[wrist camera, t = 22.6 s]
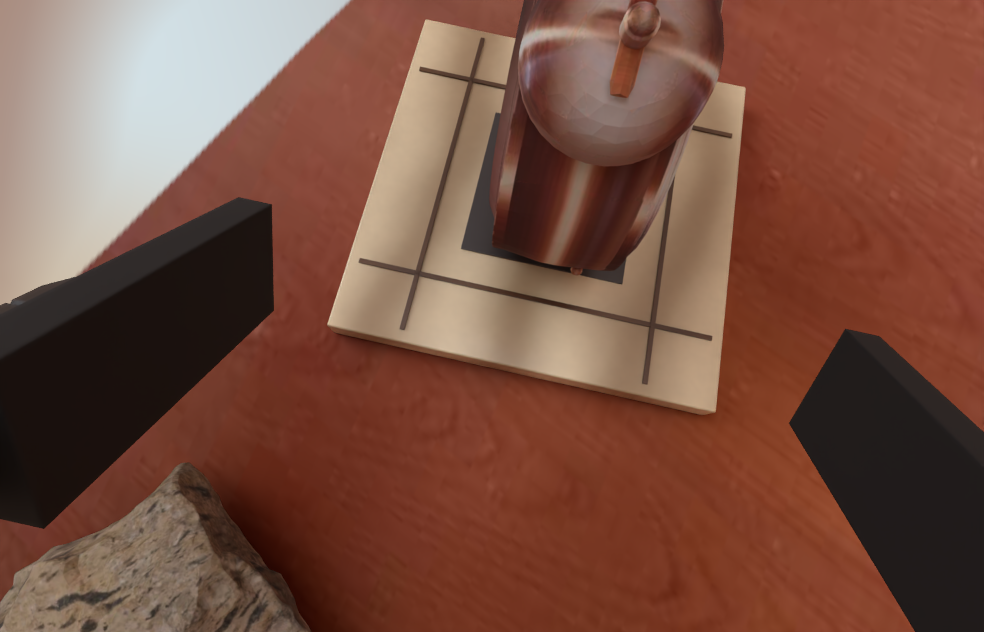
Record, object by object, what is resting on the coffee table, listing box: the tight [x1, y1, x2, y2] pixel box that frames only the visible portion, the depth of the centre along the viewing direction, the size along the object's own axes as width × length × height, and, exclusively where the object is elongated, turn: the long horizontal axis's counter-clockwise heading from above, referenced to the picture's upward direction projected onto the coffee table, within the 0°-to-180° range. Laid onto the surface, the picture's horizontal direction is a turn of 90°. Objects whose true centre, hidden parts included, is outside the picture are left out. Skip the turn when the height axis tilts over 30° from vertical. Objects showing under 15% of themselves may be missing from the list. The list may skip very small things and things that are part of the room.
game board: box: [328, 20, 746, 415], centre depth 24 cm, size 16×16×1 cm
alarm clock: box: [489, 0, 724, 276], centre depth 16 cm, size 11×5×15 cm, turn 168°
